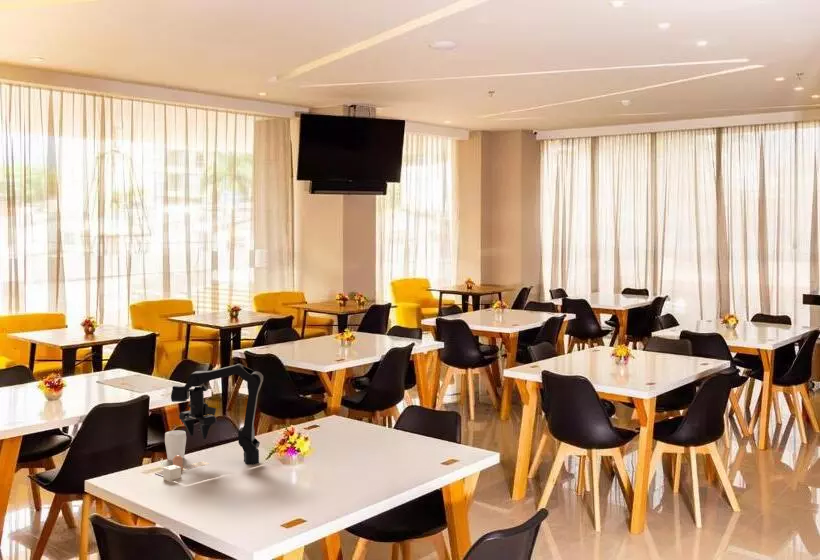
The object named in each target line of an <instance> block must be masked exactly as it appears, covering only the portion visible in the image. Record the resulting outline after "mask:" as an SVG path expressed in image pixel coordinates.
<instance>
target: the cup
mask: <svg viewBox="0 0 820 560" xmlns="http://www.w3.org/2000/svg"><path fill="white" fill-rule="evenodd" d="M164 444H165V450H166V457H167V460H168V461H173V458H174V457H175V456H176V455H180V456H181V457H183V459H185V451H186V444H187V433H186V431H185V430H181V429H178V430H176V429H175V430H174V429H173V430H169V431H166V432H165V433H164Z"/></svg>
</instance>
